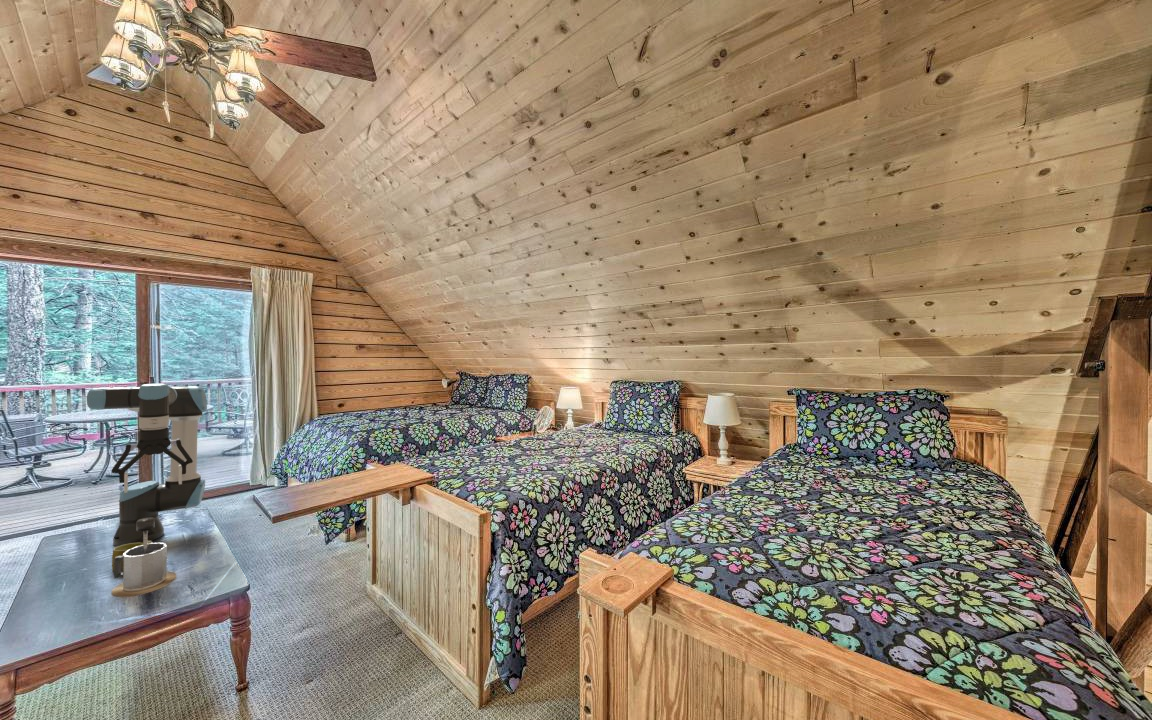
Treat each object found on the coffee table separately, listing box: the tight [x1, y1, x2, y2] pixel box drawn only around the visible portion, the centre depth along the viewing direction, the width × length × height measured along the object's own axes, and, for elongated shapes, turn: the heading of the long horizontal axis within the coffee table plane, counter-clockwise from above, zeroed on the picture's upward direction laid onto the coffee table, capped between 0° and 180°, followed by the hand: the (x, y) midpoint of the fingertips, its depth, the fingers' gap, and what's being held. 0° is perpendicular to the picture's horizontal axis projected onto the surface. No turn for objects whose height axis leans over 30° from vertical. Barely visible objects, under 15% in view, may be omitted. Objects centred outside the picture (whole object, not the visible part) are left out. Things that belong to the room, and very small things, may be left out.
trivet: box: [110, 571, 178, 598], centre depth 147 cm, size 16×16×1 cm
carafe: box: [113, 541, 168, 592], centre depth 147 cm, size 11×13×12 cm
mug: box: [111, 540, 154, 573], centre depth 159 cm, size 12×10×10 cm
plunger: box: [136, 517, 155, 555], centre depth 147 cm, size 7×7×20 cm
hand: (153, 487), depth 150 cm, fingers open, 13 cm apart
